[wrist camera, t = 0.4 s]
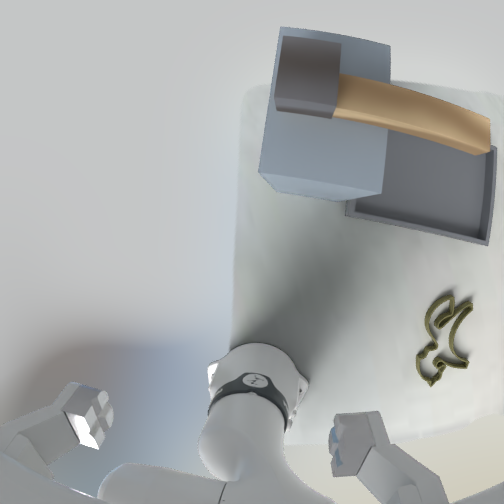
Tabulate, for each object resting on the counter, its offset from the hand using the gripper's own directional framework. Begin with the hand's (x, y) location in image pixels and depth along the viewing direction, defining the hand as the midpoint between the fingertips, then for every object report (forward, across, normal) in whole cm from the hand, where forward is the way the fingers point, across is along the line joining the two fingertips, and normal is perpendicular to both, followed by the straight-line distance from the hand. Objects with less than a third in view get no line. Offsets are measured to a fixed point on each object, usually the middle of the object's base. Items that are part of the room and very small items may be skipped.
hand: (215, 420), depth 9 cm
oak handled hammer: (+18, +11, +13) cm, 25 cm away
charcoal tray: (+42, +28, +7) cm, 51 cm away
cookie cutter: (+37, +36, -22) cm, 56 cm away
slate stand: (+44, +8, +9) cm, 46 cm away
